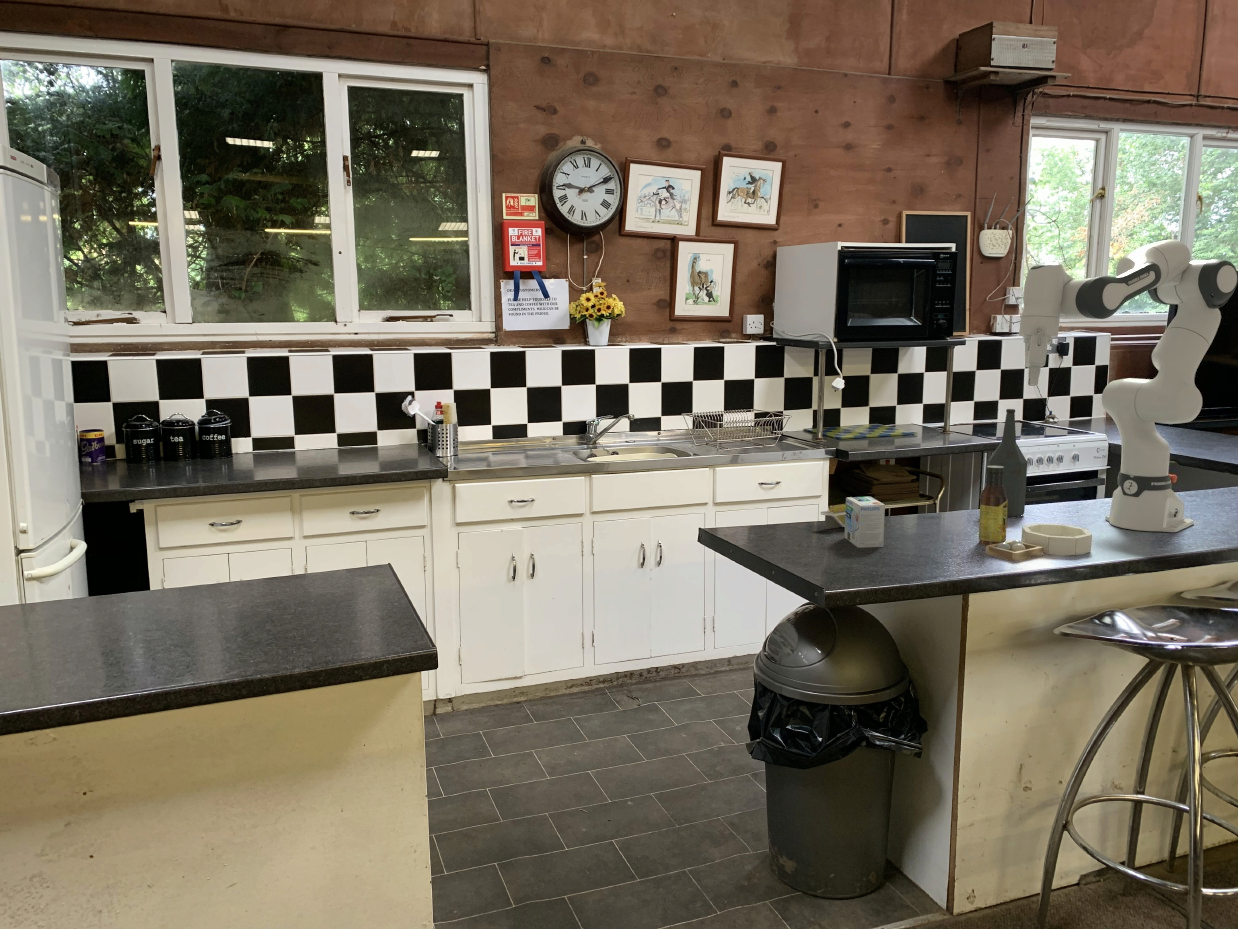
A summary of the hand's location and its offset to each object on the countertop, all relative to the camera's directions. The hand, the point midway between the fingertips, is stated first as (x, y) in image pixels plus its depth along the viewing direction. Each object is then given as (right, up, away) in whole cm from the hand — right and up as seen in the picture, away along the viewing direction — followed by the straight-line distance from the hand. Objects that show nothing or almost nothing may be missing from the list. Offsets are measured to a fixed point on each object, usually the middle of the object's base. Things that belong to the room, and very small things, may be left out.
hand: (1032, 385), depth 232 cm
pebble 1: (-13, -41, -14) cm, 45 cm away
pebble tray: (-10, -42, -13) cm, 45 cm away
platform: (-44, -37, +19) cm, 61 cm away
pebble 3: (-10, -41, -15) cm, 45 cm away
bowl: (+2, -40, -7) cm, 41 cm away
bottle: (+7, -34, +34) cm, 48 cm away
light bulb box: (-41, -39, +3) cm, 57 cm away
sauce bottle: (-11, -40, -2) cm, 41 cm away
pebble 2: (-9, -40, -11) cm, 43 cm away
